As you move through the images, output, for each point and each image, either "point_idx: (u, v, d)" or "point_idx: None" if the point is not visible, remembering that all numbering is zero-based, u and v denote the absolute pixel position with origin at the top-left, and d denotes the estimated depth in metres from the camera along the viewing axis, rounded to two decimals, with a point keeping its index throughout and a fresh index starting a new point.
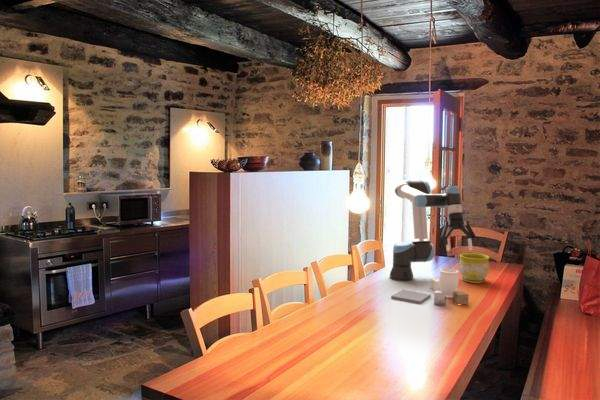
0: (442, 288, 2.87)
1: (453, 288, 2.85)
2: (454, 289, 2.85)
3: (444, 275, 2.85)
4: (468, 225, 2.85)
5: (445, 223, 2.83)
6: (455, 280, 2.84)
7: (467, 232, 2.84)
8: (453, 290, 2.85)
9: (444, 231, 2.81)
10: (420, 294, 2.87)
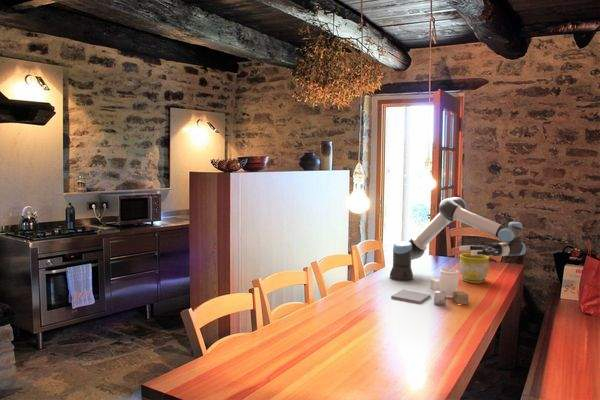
0: (442, 288, 2.87)
1: (453, 288, 2.85)
2: (454, 289, 2.85)
3: (444, 275, 2.85)
4: None
5: (496, 252, 2.85)
6: (455, 280, 2.84)
7: (476, 250, 2.96)
8: (453, 290, 2.85)
9: (490, 254, 2.82)
10: (420, 294, 2.87)
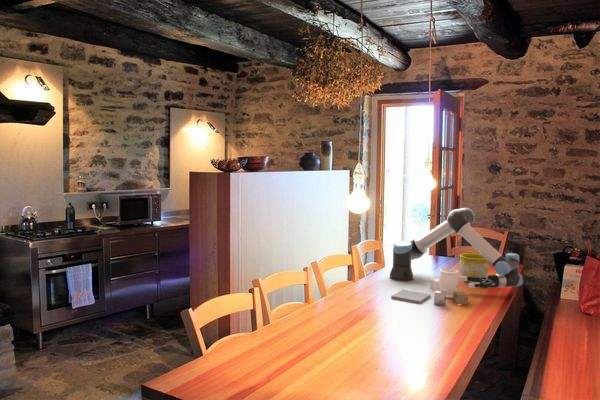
0: (442, 288, 2.87)
1: (453, 288, 2.85)
2: (454, 289, 2.85)
3: (444, 275, 2.85)
4: None
5: (493, 284, 2.86)
6: (455, 280, 2.84)
7: None
8: (453, 290, 2.85)
9: (487, 287, 2.84)
10: (420, 294, 2.87)
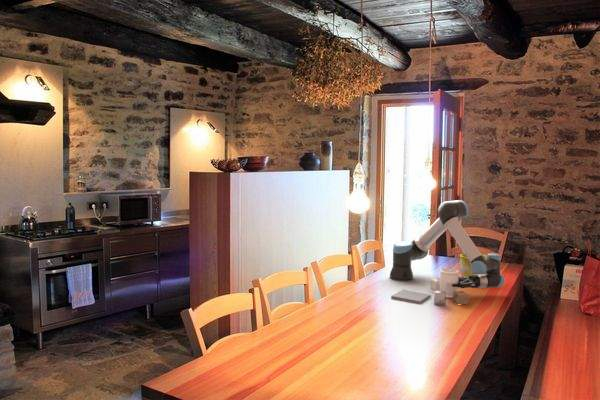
0: (442, 288, 2.87)
1: (453, 288, 2.85)
2: (454, 289, 2.85)
3: (444, 275, 2.85)
4: None
5: (473, 284, 2.84)
6: (455, 280, 2.84)
7: None
8: (453, 290, 2.85)
9: (465, 287, 2.83)
10: (420, 294, 2.87)
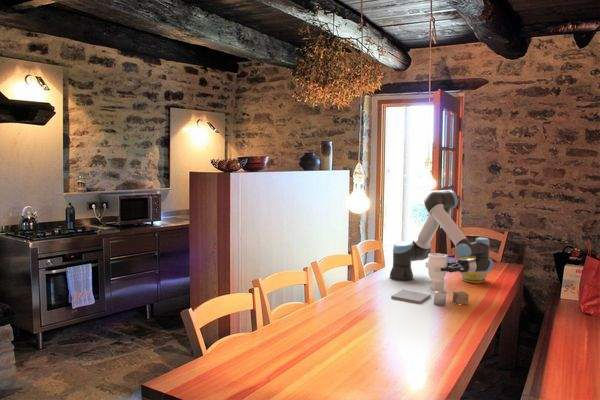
0: (431, 272, 2.82)
1: (442, 273, 2.81)
2: (443, 273, 2.81)
3: (433, 259, 2.81)
4: (448, 265, 2.93)
5: (461, 269, 2.80)
6: (444, 264, 2.80)
7: None
8: (442, 275, 2.81)
9: (454, 271, 2.79)
10: (420, 294, 2.87)
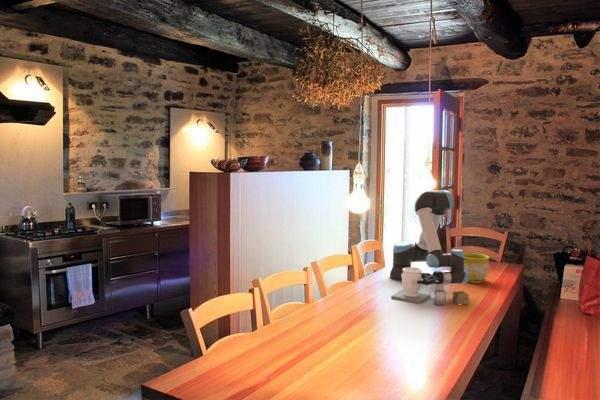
0: (405, 287, 2.82)
1: (416, 287, 2.80)
2: (417, 288, 2.81)
3: (406, 274, 2.81)
4: None
5: (437, 281, 2.80)
6: None
7: None
8: (416, 289, 2.81)
9: None
10: (420, 294, 2.87)
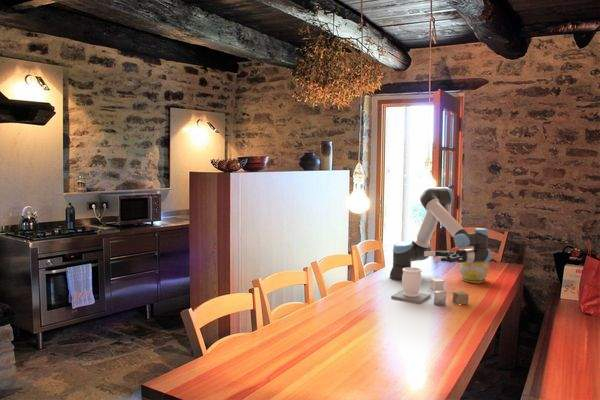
0: (405, 287, 2.82)
1: (416, 287, 2.80)
2: (417, 288, 2.81)
3: (406, 274, 2.81)
4: None
5: (460, 259, 2.80)
6: (417, 279, 2.80)
7: None
8: (416, 289, 2.81)
9: (454, 261, 2.78)
10: (420, 294, 2.87)
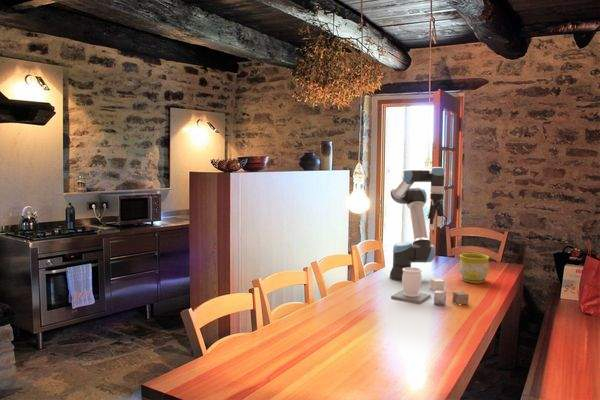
0: (405, 287, 2.82)
1: (416, 287, 2.80)
2: (417, 288, 2.81)
3: (406, 274, 2.81)
4: None
5: (432, 203, 2.96)
6: (417, 279, 2.80)
7: (441, 211, 3.06)
8: (416, 289, 2.81)
9: (433, 212, 2.95)
10: (420, 294, 2.87)
